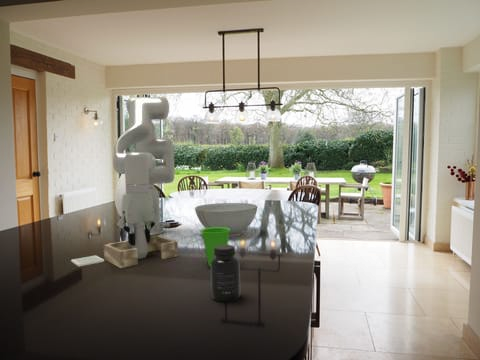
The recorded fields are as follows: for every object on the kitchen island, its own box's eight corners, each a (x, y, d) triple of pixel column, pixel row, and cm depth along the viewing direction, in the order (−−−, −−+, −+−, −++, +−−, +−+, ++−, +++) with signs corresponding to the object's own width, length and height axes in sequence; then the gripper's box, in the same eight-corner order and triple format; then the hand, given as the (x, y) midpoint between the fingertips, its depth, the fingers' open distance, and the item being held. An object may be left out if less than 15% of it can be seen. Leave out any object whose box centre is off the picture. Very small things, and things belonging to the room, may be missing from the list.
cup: (235, 262, 118) (234, 227, 117) (224, 270, 109) (223, 233, 108) (209, 260, 121) (208, 226, 120) (196, 268, 112) (195, 231, 111)
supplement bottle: (211, 292, 91) (209, 244, 91) (239, 291, 92) (238, 242, 91) (211, 303, 84) (210, 251, 84) (241, 301, 85) (240, 249, 84)
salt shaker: (144, 259, 123) (142, 220, 122) (128, 259, 124) (126, 220, 124) (151, 255, 129) (150, 217, 128) (136, 254, 130) (134, 217, 129)
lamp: (139, 221, 200) (136, 156, 198) (154, 225, 188) (152, 155, 186) (110, 226, 189) (107, 156, 187) (124, 229, 178) (121, 155, 176)
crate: (158, 249, 138) (158, 235, 137) (178, 256, 127) (177, 241, 126) (104, 259, 125) (103, 244, 125) (120, 268, 114) (119, 251, 114)
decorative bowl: (184, 239, 154) (183, 209, 153) (212, 227, 179) (212, 202, 178) (244, 243, 144) (243, 211, 143) (266, 230, 169) (265, 203, 168)
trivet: (95, 257, 128) (95, 255, 128) (104, 261, 122) (104, 259, 122) (71, 261, 123) (71, 259, 123) (78, 266, 117) (78, 264, 117)
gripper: (155, 187, 134) (157, 238, 135) (108, 190, 123) (110, 245, 124) (165, 188, 128) (167, 241, 129) (116, 192, 117) (119, 249, 118)
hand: (139, 242), depth 126 cm, fingers open, 4 cm apart
